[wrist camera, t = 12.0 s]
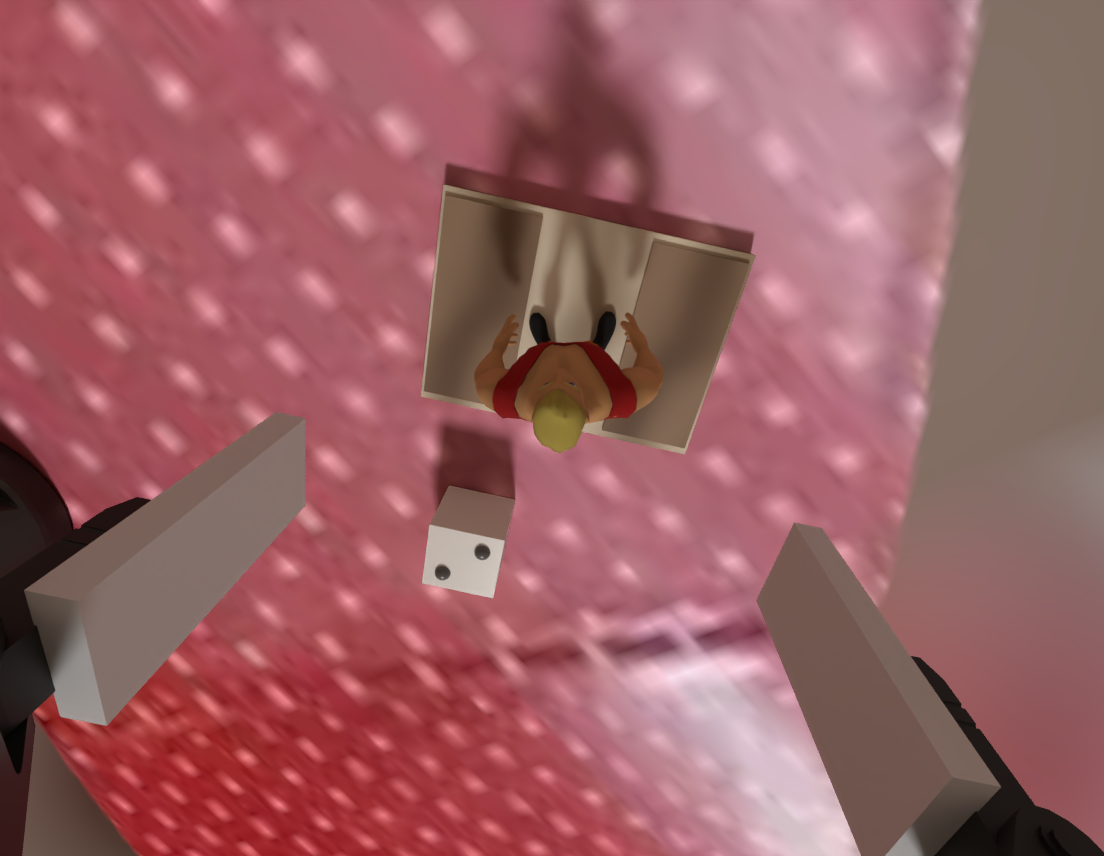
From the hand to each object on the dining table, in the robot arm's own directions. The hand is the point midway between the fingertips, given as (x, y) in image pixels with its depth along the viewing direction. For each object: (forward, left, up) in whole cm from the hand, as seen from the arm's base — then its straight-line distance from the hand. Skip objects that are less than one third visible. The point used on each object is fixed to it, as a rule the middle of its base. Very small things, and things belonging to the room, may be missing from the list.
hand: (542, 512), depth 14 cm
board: (0, 0, -21) cm, 21 cm away
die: (-4, -16, -21) cm, 27 cm away
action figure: (0, 0, -20) cm, 20 cm away
